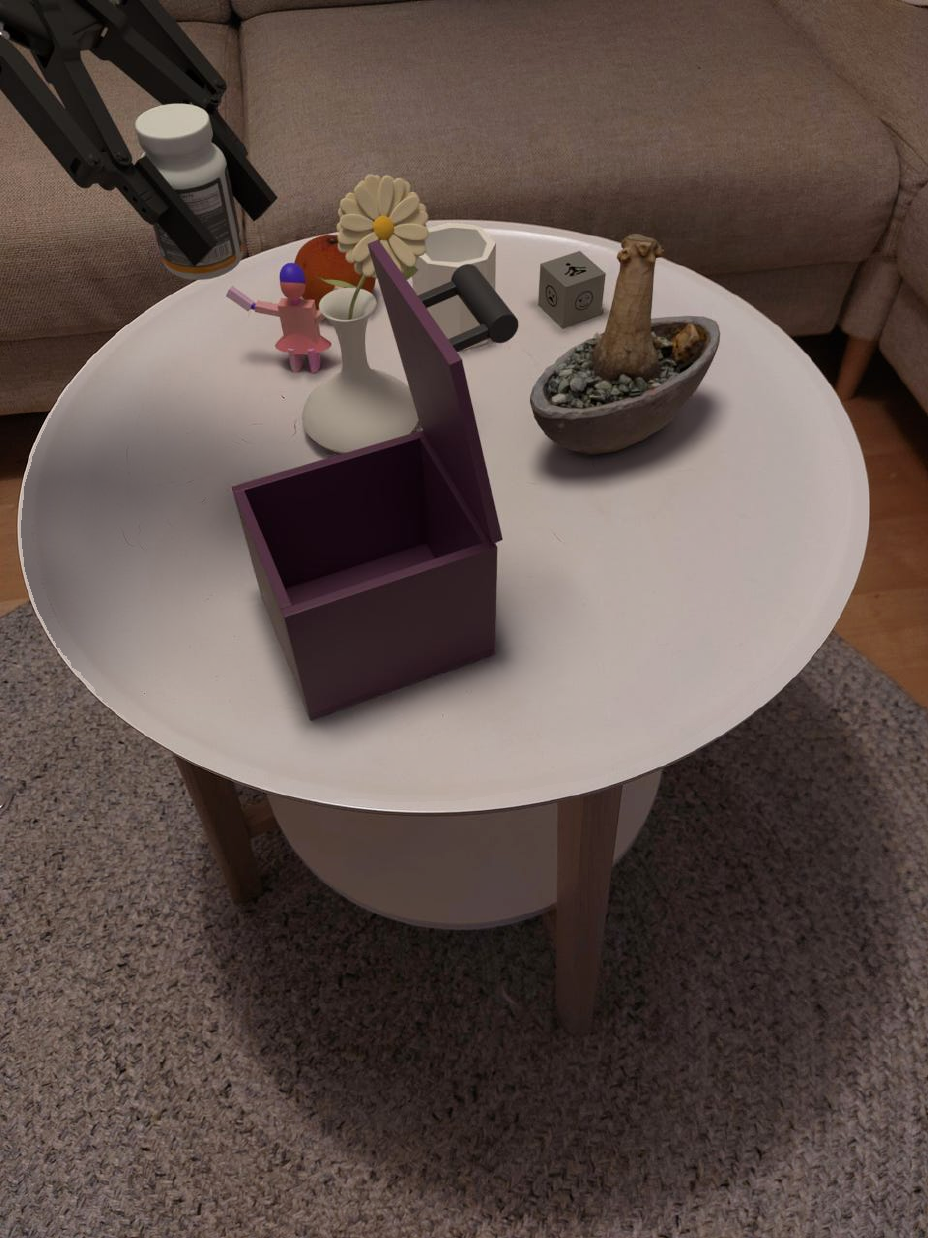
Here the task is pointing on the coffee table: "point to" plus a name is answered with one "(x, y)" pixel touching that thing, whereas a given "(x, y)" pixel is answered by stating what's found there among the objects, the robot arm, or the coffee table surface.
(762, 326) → the coffee table surface
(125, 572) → the coffee table surface
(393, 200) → the flower in vase
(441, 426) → the lid
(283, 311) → the figurine
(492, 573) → the chest
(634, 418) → the planter
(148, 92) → the robot arm
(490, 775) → the coffee table surface
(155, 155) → the pill bottle
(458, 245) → the mug
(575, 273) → the dice cube
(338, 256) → the fruit
